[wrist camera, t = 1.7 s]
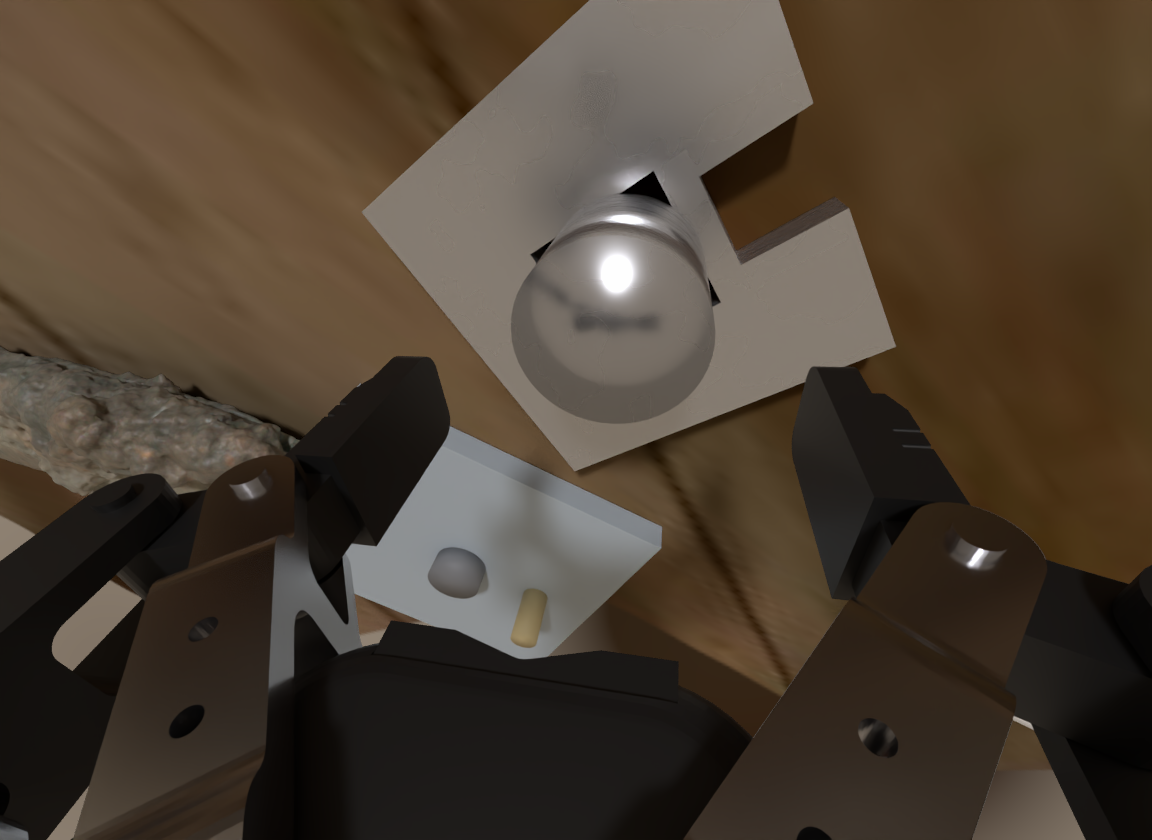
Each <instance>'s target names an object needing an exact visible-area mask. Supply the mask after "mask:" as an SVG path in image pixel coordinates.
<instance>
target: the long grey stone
mask: <svg viewBox="0 0 1152 840" xmlns="http://www.w3.org/2000/svg"><path fill="white" fill-rule="evenodd" d="M280 430H281V429H280V427H278V426H277V425H275V424H270V423H263V422H262V421H260V420H258V419H257V418H255V417H253V416H251V415H248V414H245V413H243V412H240V411H239V410H237V409H236V408H235V407H234V406H231V405H227V404H223V405H222V404H220V403H217V402H213V401H209V400H206V399H204V398H202V397H193V396H190V395H187V394H184V393H182V390H181V389H180V387H178V386H176V385H174V383H173V382H172V381H170V380H169V379H168V378H166V377H165V376H164V375H163V374H159V375H158V376H156V377H155V378H151V379H145V378H142V377H140V376H136V375H134V374H133V373H131V372H126V373H124V374H122V375H116V374H112V373H109V372H105V371H101V370H98V369H96V368H93V367H90V366H87V365H81V364H77V363H74V362H71V361H66V360H63V359H59V358H52V359H51V358H44V357H41V356H34V357H28V356H25V355H24V354H16V353H12V352H10V351H7V350H6V349H4V348H2V347H0V458H1V459H5V460H7V461H10V462H13V463H16V464H20V465H24V466H26V467H30V468H33V469H37V470H42V471H44V472H47V473H48V474H49V475H50V476H51V477H52V479H53V481H54V482H55V483H56V484H59V485H62V486H64V487H65V488H67V489H69V490H70V491H72V492H73V493H79V494H80V495H82V496H86V495H88V494H89V495H90V494H92V493H93V492H95V491H97V490H98V489H100V488H102V487H104V486H106V485H108V484H111V483H113V482H115V481H118V480H120V479H123V478H126V477H130V476H134V475H138V474H145V473H154V474H159V475H161V476H162V477H164V478H165V480H166V481H167V482H168V483H169V485H170V486H171V487H172V488H173V490H174V491H175V492H176V493H177V494H183V493H189V492H195V491H201V490H207V489H208V488H209V486H210V485H211V484H212V483H213V482H214V481H215V480H216V479H217V478H218V477H219V476H221V475H222V474H223V473H225V472H226V471H228V470H229V469H231V468H232V467H234V466H236V465H238V464H240V463H243V462H245V461H247V460H250V459H253V458H257V457H260V456H266V455H283V456H284V455H285V454H287V453H288V452H289V451H290V450H291V449H292V448H293V447H294V446H295V445H296V444H297V443H298V442H299V441H300V440H297V439H296V438H294V437H293V436H290V435H288V434H285V433H283V432H281V431H280Z"/></svg>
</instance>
